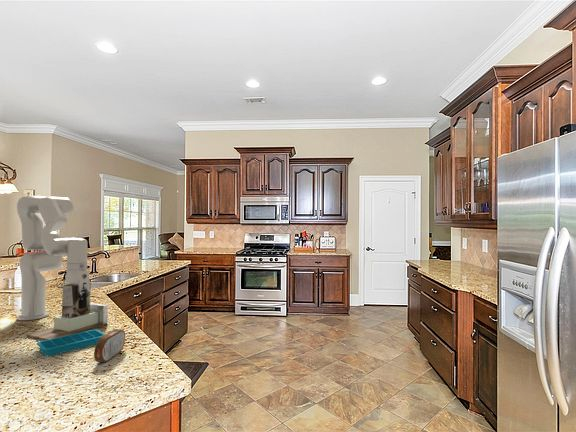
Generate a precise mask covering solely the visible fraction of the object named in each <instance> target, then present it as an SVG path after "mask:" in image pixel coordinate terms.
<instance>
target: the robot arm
mask: <svg viewBox="0 0 576 432" xmlns="http://www.w3.org/2000/svg"><path fill="white" fill-rule="evenodd" d="M73 203H74V202H72V200H71V199H70V198H69V197H62V196H43V195H42V196H41V195H24V196H21V197H20V198H18V201H17V204H16V210H17V211H16V212H17V214H18V217H19V221H20V224H21V241H22V242H21V243H22V247H23V249H25V250H26V251H40V250H41V251H45V252H29V253H27V254H24V255H22V256H21V257H20V259H19V262H18V263H19V269H20V276H21V296H20V297H21V301H20V302H21V303H20V305H21V307H20V309H19V312H20V315H18V316H17V317H16V319H17V320H18V321H32V320H38V319H44V318H46V317H48V316H50V312H49V311H46V307H47V306H46V301H47V300H46V299H47V298H46V294H47V291H46V290H47V288H46V287H47V284H46V283H47V282H46V281H47V280H46V277H44V275H43V274H41V273H42V272H49V271H56V270H58V269H60V268H61V267H62V265H63V256H64V255H65V256H66V275H65V285H78V293H79V298H80V300H79V309H82V308H86V307H87V298H88V295H89V293H90V294H91V286H90V274H89V270H88V240H87V239H85V238H77V237H63V238H61V235H60V234H59V233H58V232H57V231H58V230H61V229H63V228H64V227H65V226H66V225H67V223H68V218H67V217H66V215H70V214H72V213H73V211H74V204H73ZM37 214H40V215H41V217H42V219H41V217H40V216H39V215H37ZM43 221H44V223H43ZM44 224H45V225H44ZM81 290H84V292H81ZM82 294H83V296H82Z"/></svg>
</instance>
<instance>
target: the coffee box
mask: <svg viewBox="0 0 576 432" xmlns="http://www.w3.org/2000/svg"><path fill="white" fill-rule="evenodd" d="M89 282H90V281H89ZM90 287H91V282H90ZM81 292H84V290H81ZM61 294H62V297H61V298H62V299H61V300H62V303H61V315H62V317H64V318H70V319H71V318H74V317H78V316H82V315H86V314H90V303H91V292H90V293H89V295H88V298H87V307H86V308H82V309H79V300H80V298H79V293H78V285H66V284H64V285H62V293H61ZM82 296H83V294H82Z"/></svg>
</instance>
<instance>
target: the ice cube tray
mask: <svg viewBox="0 0 576 432" xmlns="http://www.w3.org/2000/svg"><path fill="white" fill-rule="evenodd" d="M105 334H106V333H104V332H103V331H101V330H99V329H93V330H90V331H85V332H81V333H76V334H72V335H67V336H62V337H58V338H53V339H49V340H44V341H42V340H39V341H38V342H36V344H37V346H38V347H39V351H41V352H42V354H43V355H44V356H45V357H50V356H56V355H58V354H62V353H66V352H67V353H68V352H70V351H74V350H78V349H83V348H87V347H92V346H94V345H95V346H96V344H97V342H98V340H99V339H100V338H101V337H102V336H103V335H105Z"/></svg>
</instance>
